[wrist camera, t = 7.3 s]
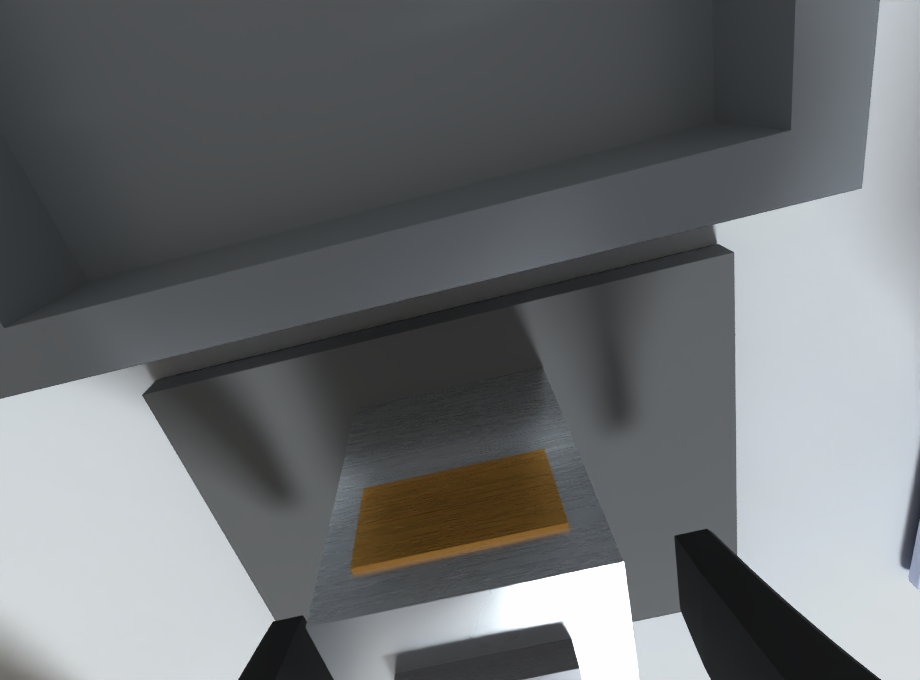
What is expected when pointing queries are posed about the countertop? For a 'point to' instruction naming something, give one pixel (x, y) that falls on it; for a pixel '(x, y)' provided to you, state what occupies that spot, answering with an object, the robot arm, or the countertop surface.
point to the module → (470, 545)
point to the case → (382, 152)
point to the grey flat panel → (473, 359)
